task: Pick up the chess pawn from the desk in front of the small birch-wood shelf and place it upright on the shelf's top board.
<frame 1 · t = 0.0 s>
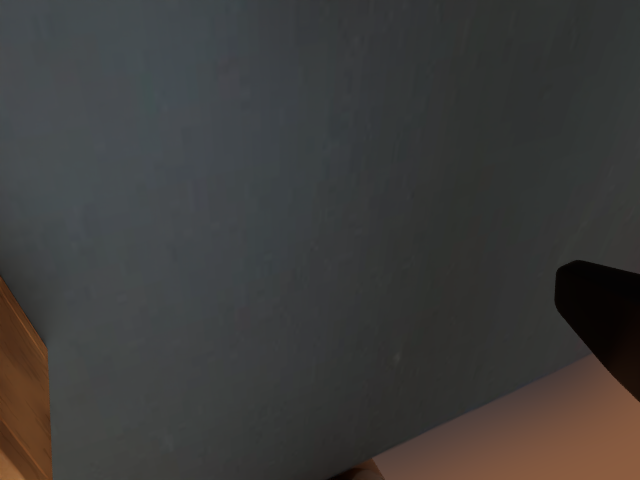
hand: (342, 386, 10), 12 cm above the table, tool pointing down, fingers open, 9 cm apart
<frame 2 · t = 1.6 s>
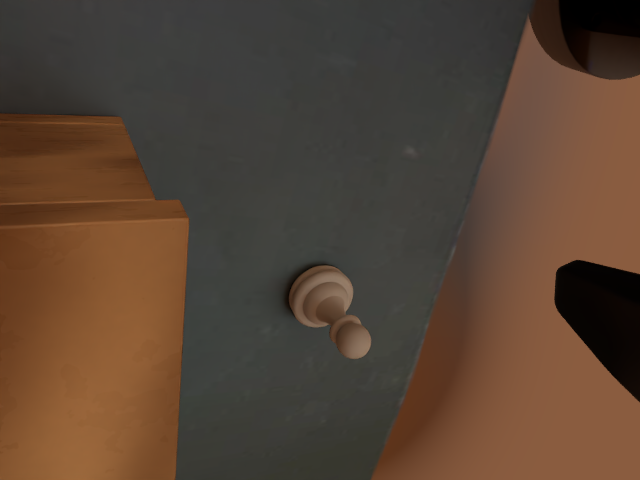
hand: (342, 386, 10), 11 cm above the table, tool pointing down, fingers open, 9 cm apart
pawn: (315, 288, 24), on the table
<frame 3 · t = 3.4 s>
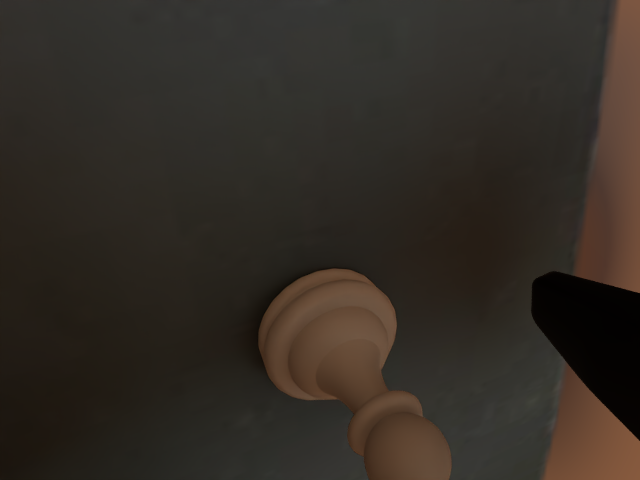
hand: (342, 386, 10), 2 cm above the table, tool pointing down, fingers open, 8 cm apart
pawn: (315, 316, 11), on the table
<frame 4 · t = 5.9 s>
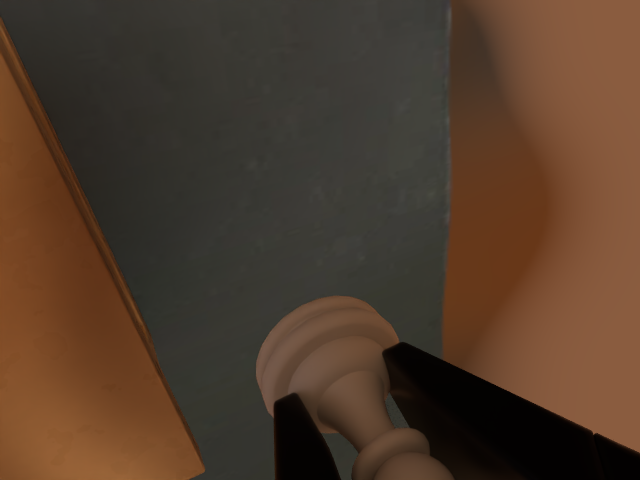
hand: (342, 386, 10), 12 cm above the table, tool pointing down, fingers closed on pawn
pawn: (315, 344, 11), point 11 cm above the table, touching gripper
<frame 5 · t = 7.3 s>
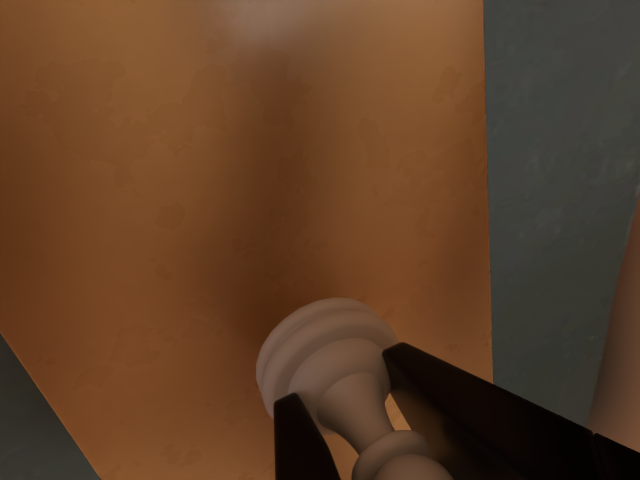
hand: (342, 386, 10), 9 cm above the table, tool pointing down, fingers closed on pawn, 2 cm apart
pawn: (315, 346, 11), point 8 cm above the table, touching gripper
shelf: (208, 186, 17), on the table
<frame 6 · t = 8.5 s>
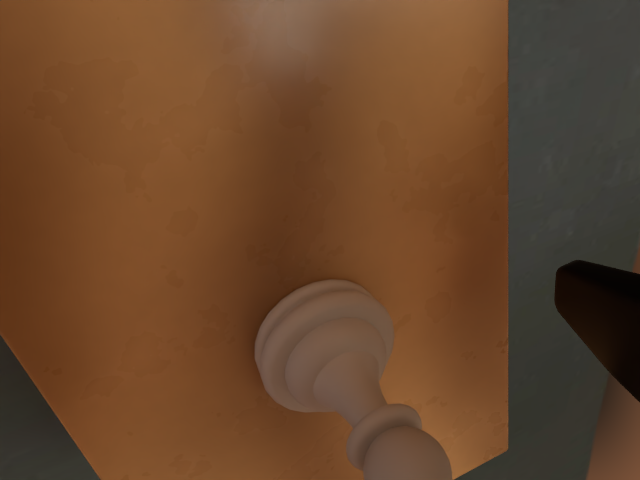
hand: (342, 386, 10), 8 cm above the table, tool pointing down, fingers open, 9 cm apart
pawn: (312, 327, 11), point 7 cm above the table, touching shelf
shelf: (217, 187, 16), on the table
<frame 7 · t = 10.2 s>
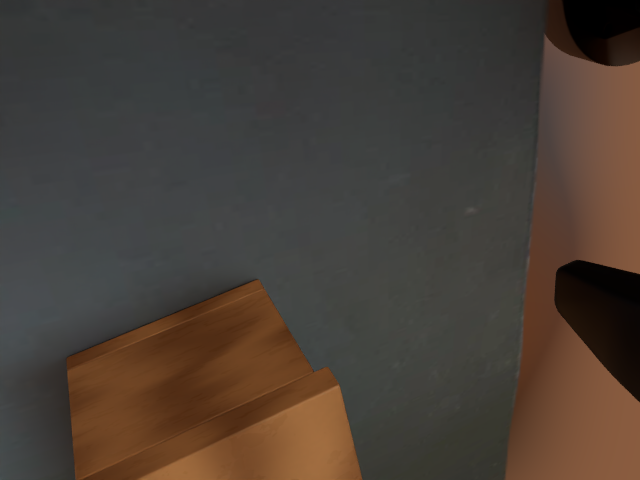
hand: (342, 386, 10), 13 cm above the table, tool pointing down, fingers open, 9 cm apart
shelf: (215, 425, 27), on the table
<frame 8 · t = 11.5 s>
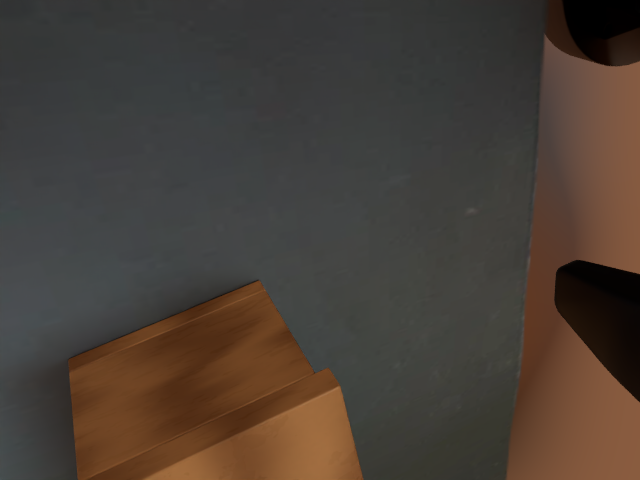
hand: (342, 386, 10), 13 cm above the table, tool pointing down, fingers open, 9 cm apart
shelf: (216, 426, 27), on the table
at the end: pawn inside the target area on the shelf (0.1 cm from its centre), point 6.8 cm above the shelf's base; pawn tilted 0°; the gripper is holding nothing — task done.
